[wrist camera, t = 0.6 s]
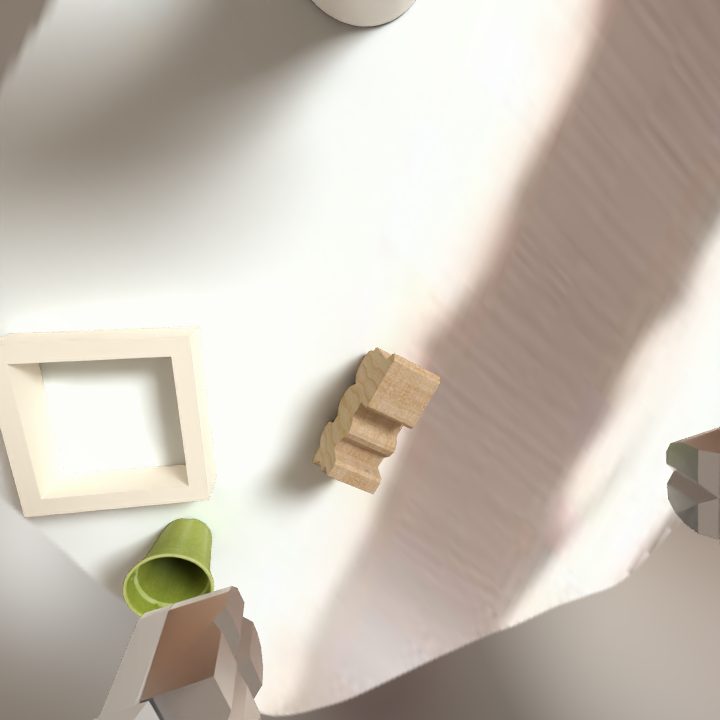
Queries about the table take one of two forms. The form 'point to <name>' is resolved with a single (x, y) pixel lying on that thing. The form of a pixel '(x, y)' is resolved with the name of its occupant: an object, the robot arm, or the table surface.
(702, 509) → the robot arm
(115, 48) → the table surface
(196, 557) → the plant pot
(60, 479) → the cream open tray
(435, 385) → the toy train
